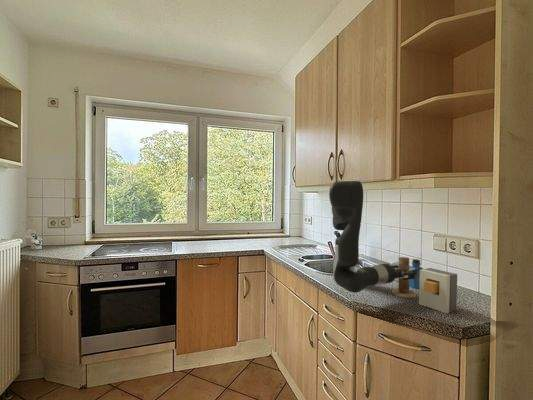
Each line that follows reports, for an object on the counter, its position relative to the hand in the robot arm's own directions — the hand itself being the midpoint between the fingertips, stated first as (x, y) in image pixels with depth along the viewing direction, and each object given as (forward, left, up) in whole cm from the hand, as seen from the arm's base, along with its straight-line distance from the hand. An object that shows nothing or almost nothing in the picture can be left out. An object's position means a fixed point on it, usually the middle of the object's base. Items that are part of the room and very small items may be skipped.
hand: (406, 269), depth 125 cm
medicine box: (-15, +17, -10) cm, 25 cm away
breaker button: (+15, -7, -4) cm, 17 cm away
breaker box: (+15, -3, -10) cm, 18 cm away
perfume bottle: (-5, +14, -10) cm, 18 cm away
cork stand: (0, -1, -10) cm, 10 cm away
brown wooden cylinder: (0, -1, -9) cm, 9 cm away
